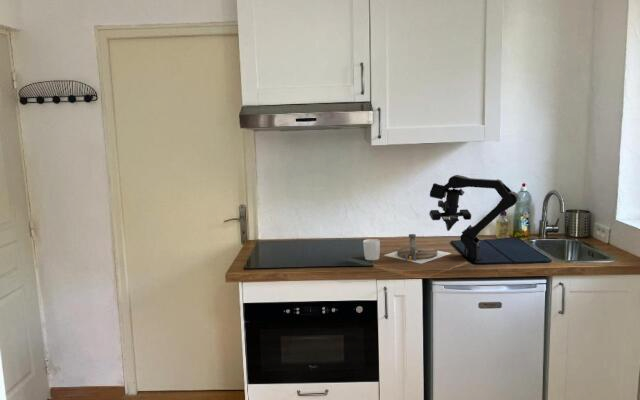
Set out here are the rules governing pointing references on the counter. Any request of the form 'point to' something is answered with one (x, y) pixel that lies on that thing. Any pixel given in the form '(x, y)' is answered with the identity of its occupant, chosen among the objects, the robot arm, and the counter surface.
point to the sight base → (395, 255)
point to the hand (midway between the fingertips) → (448, 230)
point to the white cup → (371, 249)
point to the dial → (416, 250)
